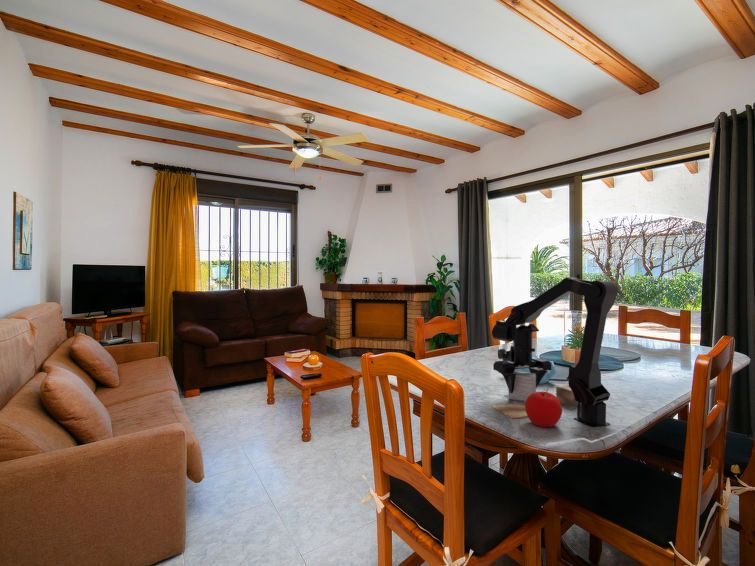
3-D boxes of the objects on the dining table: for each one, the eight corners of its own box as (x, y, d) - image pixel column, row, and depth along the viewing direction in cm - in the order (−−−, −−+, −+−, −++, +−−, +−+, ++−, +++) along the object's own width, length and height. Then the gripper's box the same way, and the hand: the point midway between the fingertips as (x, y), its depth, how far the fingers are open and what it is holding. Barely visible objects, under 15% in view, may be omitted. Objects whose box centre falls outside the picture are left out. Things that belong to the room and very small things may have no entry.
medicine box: (536, 399, 120) (536, 373, 120) (534, 403, 116) (534, 376, 116) (510, 395, 124) (511, 370, 124) (508, 399, 120) (508, 372, 120)
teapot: (520, 387, 134) (520, 358, 134) (500, 376, 149) (501, 350, 149) (559, 386, 136) (559, 357, 136) (535, 375, 151) (536, 349, 151)
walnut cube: (580, 404, 116) (580, 388, 116) (570, 406, 114) (570, 390, 113) (566, 399, 120) (566, 384, 120) (556, 401, 118) (556, 386, 118)
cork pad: (542, 415, 106) (542, 414, 106) (513, 418, 103) (513, 417, 103) (519, 403, 116) (519, 402, 116) (492, 407, 113) (492, 406, 113)
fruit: (550, 434, 93) (550, 395, 93) (518, 422, 101) (518, 386, 100) (568, 426, 99) (569, 388, 99) (537, 415, 106) (537, 381, 106)
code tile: (541, 406, 116) (541, 404, 116) (526, 407, 114) (526, 405, 114) (518, 395, 126) (518, 393, 126) (503, 397, 124) (503, 395, 124)
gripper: (529, 339, 130) (528, 383, 130) (483, 341, 125) (483, 387, 125) (553, 344, 120) (552, 392, 120) (504, 347, 114) (504, 397, 114)
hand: (522, 391), depth 120 cm, fingers open, 8 cm apart
